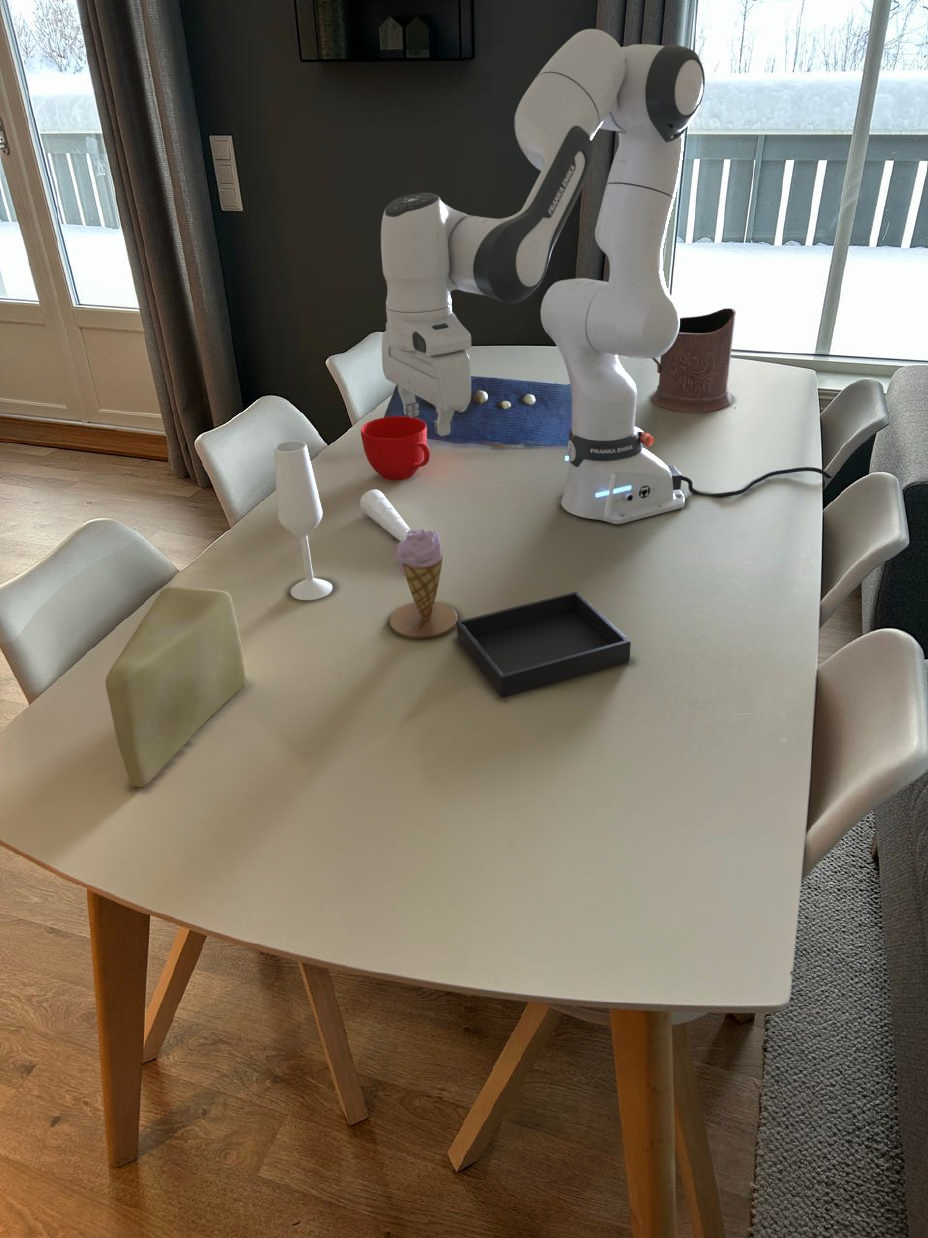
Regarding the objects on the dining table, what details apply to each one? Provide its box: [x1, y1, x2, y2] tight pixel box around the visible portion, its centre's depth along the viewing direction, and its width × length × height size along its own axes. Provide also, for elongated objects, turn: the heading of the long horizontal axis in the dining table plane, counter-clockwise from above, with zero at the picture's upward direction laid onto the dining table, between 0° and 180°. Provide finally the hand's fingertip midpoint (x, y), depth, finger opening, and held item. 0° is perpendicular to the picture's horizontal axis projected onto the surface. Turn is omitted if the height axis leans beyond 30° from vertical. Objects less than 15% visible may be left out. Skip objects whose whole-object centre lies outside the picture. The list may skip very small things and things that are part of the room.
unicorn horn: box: [359, 489, 411, 542], centre depth 158 cm, size 5×24×5 cm, turn 25°
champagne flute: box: [273, 440, 333, 601], centre depth 138 cm, size 7×7×24 cm
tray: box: [456, 590, 632, 699], centre depth 126 cm, size 19×15×3 cm
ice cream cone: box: [394, 528, 444, 620], centre depth 130 cm, size 7×6×15 cm
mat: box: [383, 375, 572, 449], centre depth 205 cm, size 45×27×12 cm, turn 82°
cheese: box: [104, 586, 247, 788], centre depth 111 cm, size 22×10×15 cm, turn 168°
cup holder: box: [651, 307, 737, 413], centre depth 209 cm, size 18×24×25 cm
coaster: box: [389, 601, 458, 640], centre depth 134 cm, size 10×10×1 cm
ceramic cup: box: [360, 416, 431, 482], centre depth 179 cm, size 13×17×10 cm
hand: (426, 424), depth 130 cm, fingers open, 8 cm apart
